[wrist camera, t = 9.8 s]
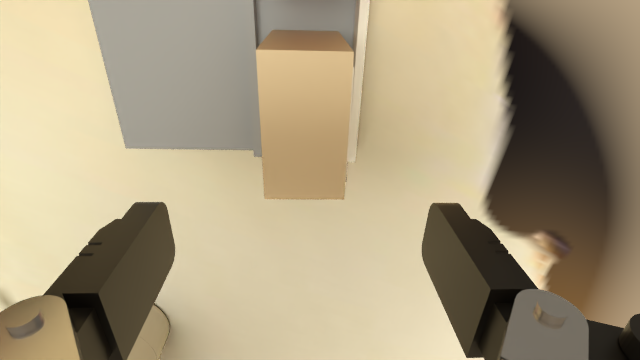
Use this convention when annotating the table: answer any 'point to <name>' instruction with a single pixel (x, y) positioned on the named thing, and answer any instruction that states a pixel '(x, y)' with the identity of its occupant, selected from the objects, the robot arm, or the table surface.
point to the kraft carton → (305, 113)
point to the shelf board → (207, 65)
